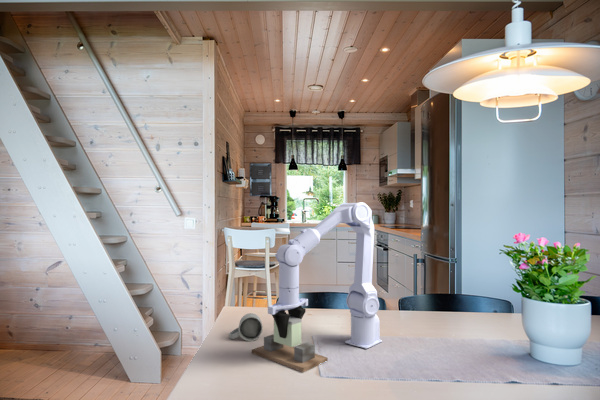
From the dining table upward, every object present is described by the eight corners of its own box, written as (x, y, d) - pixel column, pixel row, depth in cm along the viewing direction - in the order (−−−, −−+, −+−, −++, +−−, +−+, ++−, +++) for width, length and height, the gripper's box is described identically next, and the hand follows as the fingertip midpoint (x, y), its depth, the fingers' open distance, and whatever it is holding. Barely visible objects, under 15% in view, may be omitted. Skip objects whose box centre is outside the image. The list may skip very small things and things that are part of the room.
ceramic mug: (261, 332, 131) (260, 309, 131) (262, 340, 123) (262, 316, 123) (229, 334, 129) (229, 311, 129) (228, 343, 121) (228, 318, 121)
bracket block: (283, 338, 113) (283, 314, 113) (301, 343, 108) (301, 319, 109) (273, 341, 110) (273, 317, 110) (291, 347, 105) (291, 321, 106)
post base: (276, 344, 119) (276, 329, 119) (327, 361, 106) (327, 344, 106) (251, 353, 112) (251, 337, 112) (303, 372, 98) (303, 354, 99)
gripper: (295, 281, 118) (295, 327, 117) (260, 288, 107) (259, 338, 106) (313, 284, 113) (313, 331, 112) (278, 292, 102) (277, 344, 102)
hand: (288, 335), depth 109 cm, fingers closed on bracket block, 4 cm apart
